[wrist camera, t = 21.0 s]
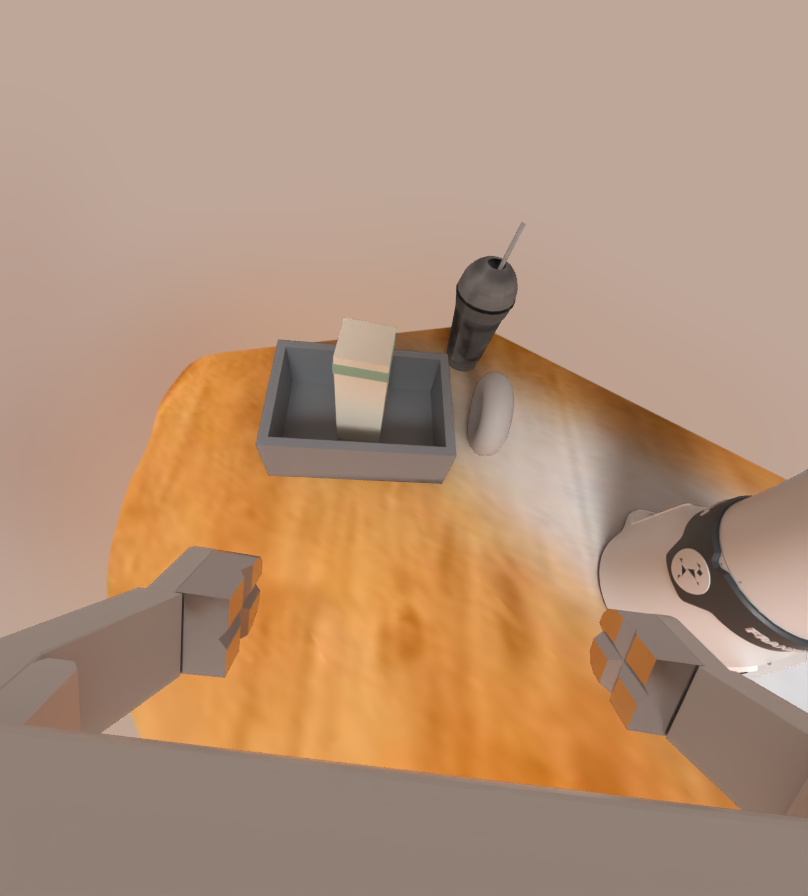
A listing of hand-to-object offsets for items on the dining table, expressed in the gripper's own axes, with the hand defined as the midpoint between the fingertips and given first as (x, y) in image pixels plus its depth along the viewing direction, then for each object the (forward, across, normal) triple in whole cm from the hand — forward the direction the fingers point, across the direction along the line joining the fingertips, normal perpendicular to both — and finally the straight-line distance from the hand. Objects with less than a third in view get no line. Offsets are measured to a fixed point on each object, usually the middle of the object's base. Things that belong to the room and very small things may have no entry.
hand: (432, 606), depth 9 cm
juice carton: (+38, +5, +4) cm, 39 cm away
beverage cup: (+50, -7, -5) cm, 50 cm away
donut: (+40, -10, +4) cm, 42 cm away
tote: (+39, +5, +5) cm, 40 cm away
